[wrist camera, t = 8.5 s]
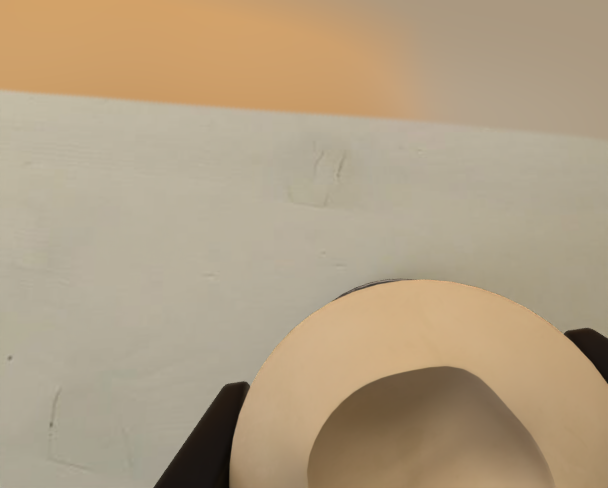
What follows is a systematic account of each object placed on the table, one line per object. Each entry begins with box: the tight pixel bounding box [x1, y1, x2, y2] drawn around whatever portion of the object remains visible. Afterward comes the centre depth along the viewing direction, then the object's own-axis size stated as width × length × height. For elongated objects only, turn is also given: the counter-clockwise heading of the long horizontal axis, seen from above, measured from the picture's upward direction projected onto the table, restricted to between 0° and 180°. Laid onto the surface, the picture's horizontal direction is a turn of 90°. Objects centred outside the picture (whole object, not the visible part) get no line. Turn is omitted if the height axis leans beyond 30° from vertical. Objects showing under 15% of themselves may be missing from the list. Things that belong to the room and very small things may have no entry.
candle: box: [229, 280, 608, 488], centre depth 10 cm, size 6×6×10 cm
